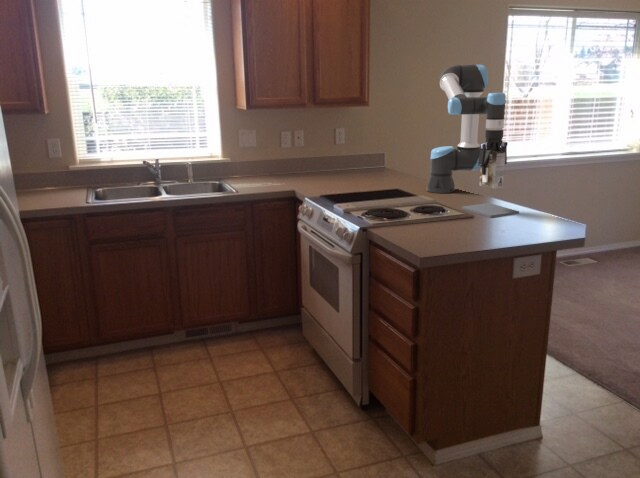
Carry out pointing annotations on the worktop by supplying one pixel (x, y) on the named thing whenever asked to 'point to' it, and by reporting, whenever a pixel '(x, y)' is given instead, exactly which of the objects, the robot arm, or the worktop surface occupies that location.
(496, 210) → the mat
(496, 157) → the coffee box
